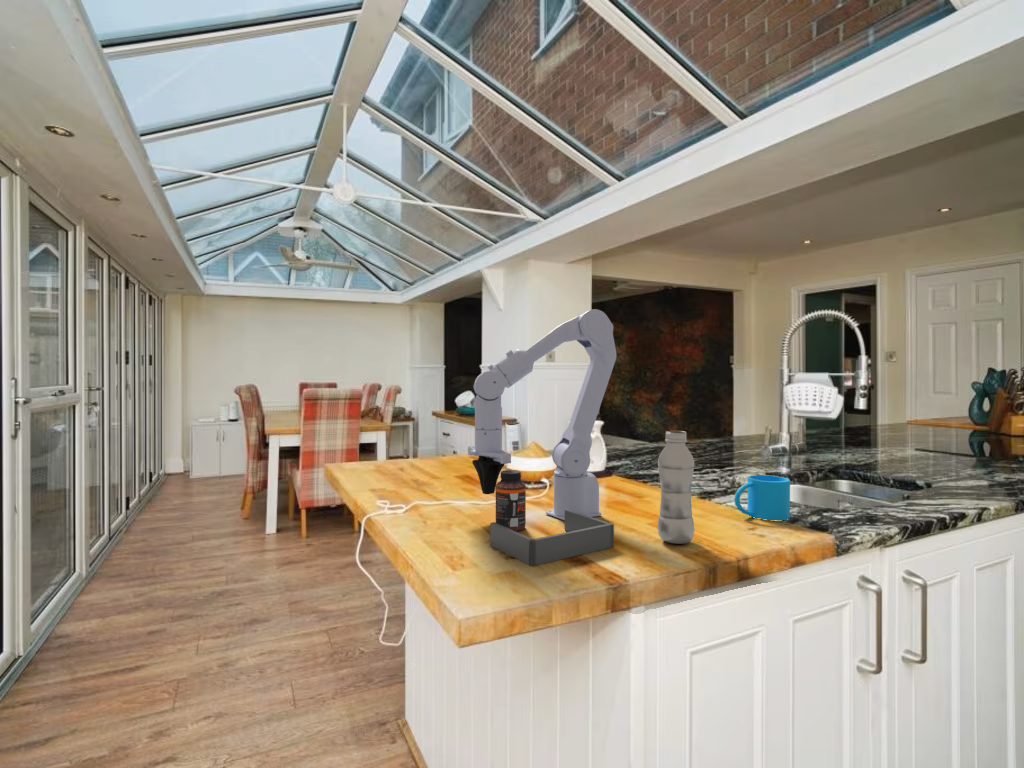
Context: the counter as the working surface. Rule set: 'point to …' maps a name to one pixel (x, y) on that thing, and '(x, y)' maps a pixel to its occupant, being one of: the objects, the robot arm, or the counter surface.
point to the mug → (766, 497)
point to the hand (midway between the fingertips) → (488, 493)
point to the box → (555, 540)
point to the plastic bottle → (676, 490)
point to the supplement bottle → (511, 501)
